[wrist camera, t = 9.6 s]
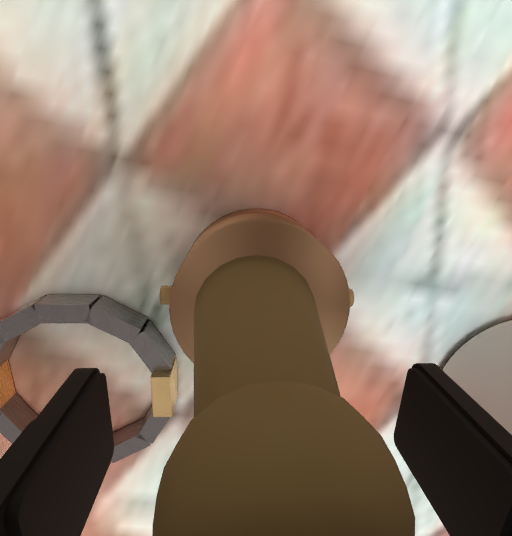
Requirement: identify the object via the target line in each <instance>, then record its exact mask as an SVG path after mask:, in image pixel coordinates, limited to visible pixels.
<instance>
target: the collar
mask: <svg viewBox="0 0 512 536" xmlns="http://www.w3.org/2000/svg"><path fill="white" fill-rule="evenodd" d="M147 318H148V317H146V316H144V315H142V314H140V313H138V312H136V311H134V310H132V309H130V308H128V307H126V306H124V305H122V304H120V303H118V302H116V301H114V300H112V299H110V298H108V297H106V296H103V297H101V298H100V295H88V294H49V295H48V296H47V295H45V296H43V297H41V298H40V299H38V300H36V301H34V302H32V303H31V304H29V305H27V306H25V307H23V308H21V309H20V310H18V311H16V312H14V313H12V314H10V315H9V316H7V317H5V318H4V319H2V320H1V321H0V433H1V434H2V435H4V436H5V437H6V438H7V439H8V440H9V441H10V442H11V443H12V444H13V443H14V441H15V440H16V439H17V438H18V436H19V435H20V434H21V433H22V431H23V430H24V429H25V428H26V426H27V425H28V424H29V423H30V422H31V421H33V420H35V419H36V418H37V417H38V415H37V414H36V413H35V412H34V411H33V410H32V409H31V408H30V407H29V406H28V405H27V404H26V403H25V402H24V401H23V400H22V399H21V398H20V397H19V395H18V394H17V393H16V391H15V387H14V383H13V378H12V374H11V370H10V366H9V362H8V359H9V357H10V355H11V353H12V351H13V348H14V346H15V344H16V342H17V340H18V338H19V336H20V334H22V333H23V332H25V331H27V330H29V329H31V328H33V327H35V326H36V325H38V324H40V323H88V324H90V325H93V326H95V327H97V328H99V329H101V330H103V331H105V332H107V333H109V334H111V335H114V336H116V337H118V338H120V339H122V340H124V341H126V342H128V343H129V344H130V345H131V346H132V347H133V349H134V350H135V351H136V353H137V354H138V355H139V357H140V358H141V359H142V360H143V362H144V363H145V364H146V366H147V367H148V368H149V370H150V371H151V372H152V375H151V377H150V378H151V391H152V406H151V408H150V409H149V411H148V413H147V414H146V416H145V417H144V418H142V419H140V420H138V421H136V422H134V423H132V424H130V425H128V426H126V427H124V428H122V429H120V430H118V431H116V432H113V439H114V452H113V457H112V460H111V461H112V462H113V463H114V462H116V461H119V460H121V459H123V458H125V457H127V456H129V455H131V454H133V453H135V452H137V451H139V450H142V449H144V448H146V447H148V446H150V444H151V443H153V442H154V440H155V439H156V437H157V436H158V434H159V433H160V431H161V430H162V428H163V427H164V425H165V424H166V422H167V421H168V419H169V418H170V417H172V415H173V411H174V407H175V403H176V399H177V395H178V385H177V362H176V357H175V353H174V352H173V351H172V349H171V348H170V346H169V345H168V344H167V342H166V341H165V339H164V338H163V337H162V335H161V334H160V333H159V331H158V330H157V328H156V327H155V326H154V324H153V323H152V321H151V320H149V321H147V322H145V321H146V320H147ZM110 463H111V462H110Z"/></svg>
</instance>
